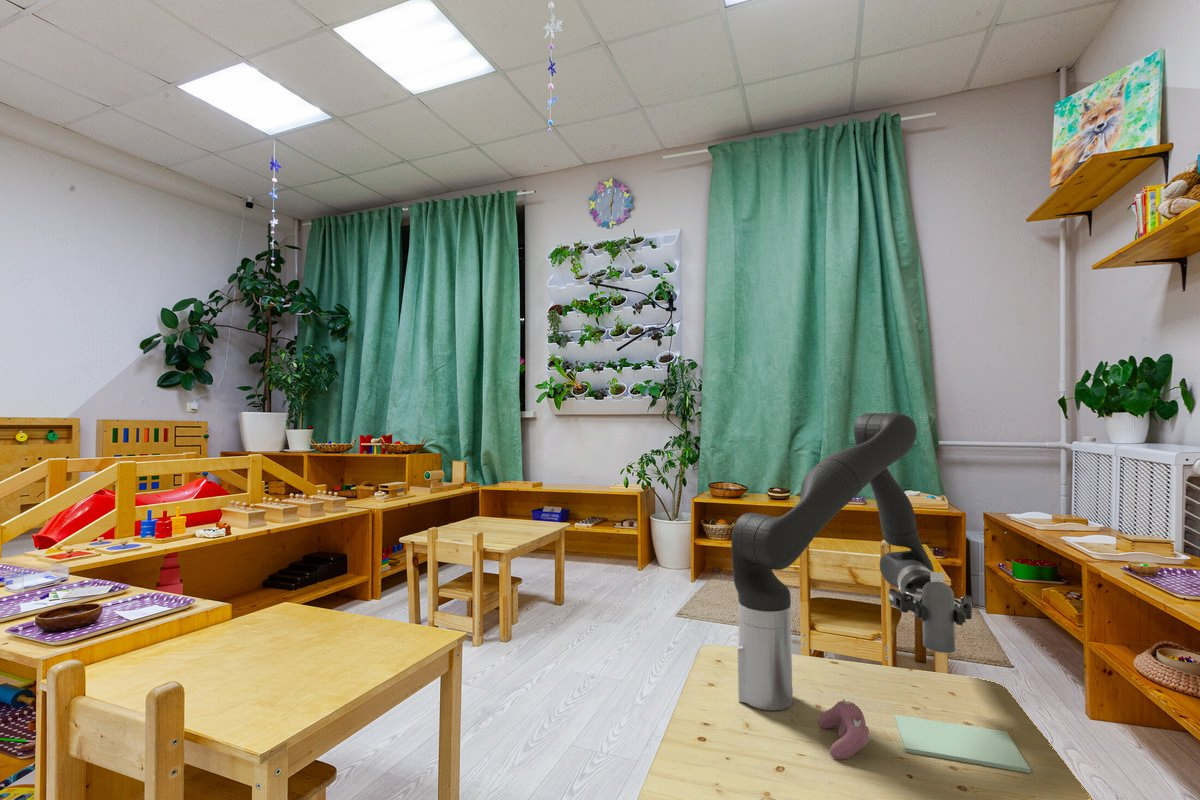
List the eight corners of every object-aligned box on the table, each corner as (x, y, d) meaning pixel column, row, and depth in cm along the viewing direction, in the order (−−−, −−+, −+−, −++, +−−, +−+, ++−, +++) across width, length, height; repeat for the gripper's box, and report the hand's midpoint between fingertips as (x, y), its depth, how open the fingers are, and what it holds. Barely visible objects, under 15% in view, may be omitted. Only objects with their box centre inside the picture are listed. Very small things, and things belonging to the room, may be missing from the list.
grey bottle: (926, 650, 96) (924, 575, 96) (920, 640, 100) (919, 568, 100) (958, 654, 94) (957, 577, 94) (951, 643, 98) (949, 570, 99)
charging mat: (905, 751, 85) (905, 747, 85) (894, 718, 95) (894, 714, 95) (1030, 773, 80) (1030, 769, 80) (1006, 735, 89) (1006, 731, 89)
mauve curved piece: (858, 774, 83) (879, 733, 82) (828, 757, 83) (850, 716, 83) (841, 736, 92) (860, 699, 92) (815, 721, 93) (834, 685, 93)
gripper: (880, 566, 113) (894, 590, 97) (962, 572, 108) (991, 599, 92) (881, 603, 113) (895, 634, 97) (963, 611, 108) (992, 645, 92)
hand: (942, 617), depth 95 cm, fingers closed on grey bottle, 4 cm apart
